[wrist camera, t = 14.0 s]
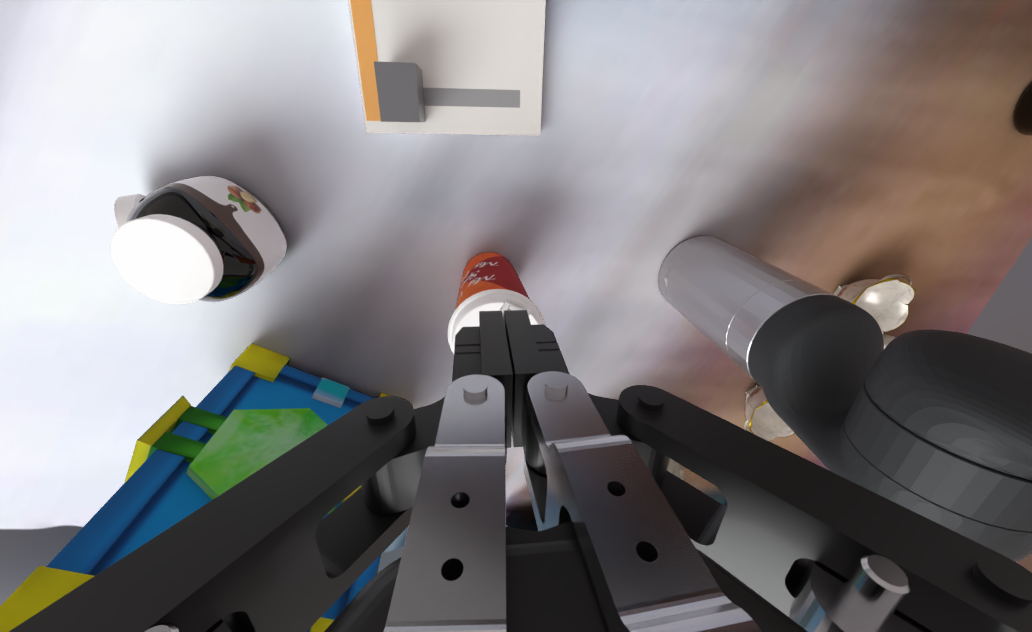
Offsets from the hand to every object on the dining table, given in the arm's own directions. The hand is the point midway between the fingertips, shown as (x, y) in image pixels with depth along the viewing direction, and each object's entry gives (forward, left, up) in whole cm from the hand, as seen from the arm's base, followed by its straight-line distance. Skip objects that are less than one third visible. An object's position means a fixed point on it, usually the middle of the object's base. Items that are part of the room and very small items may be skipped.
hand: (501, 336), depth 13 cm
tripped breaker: (+6, -8, -30) cm, 31 cm away
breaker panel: (+2, -13, -32) cm, 34 cm away
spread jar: (+26, +4, -32) cm, 41 cm away
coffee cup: (-1, +10, -32) cm, 34 cm away
